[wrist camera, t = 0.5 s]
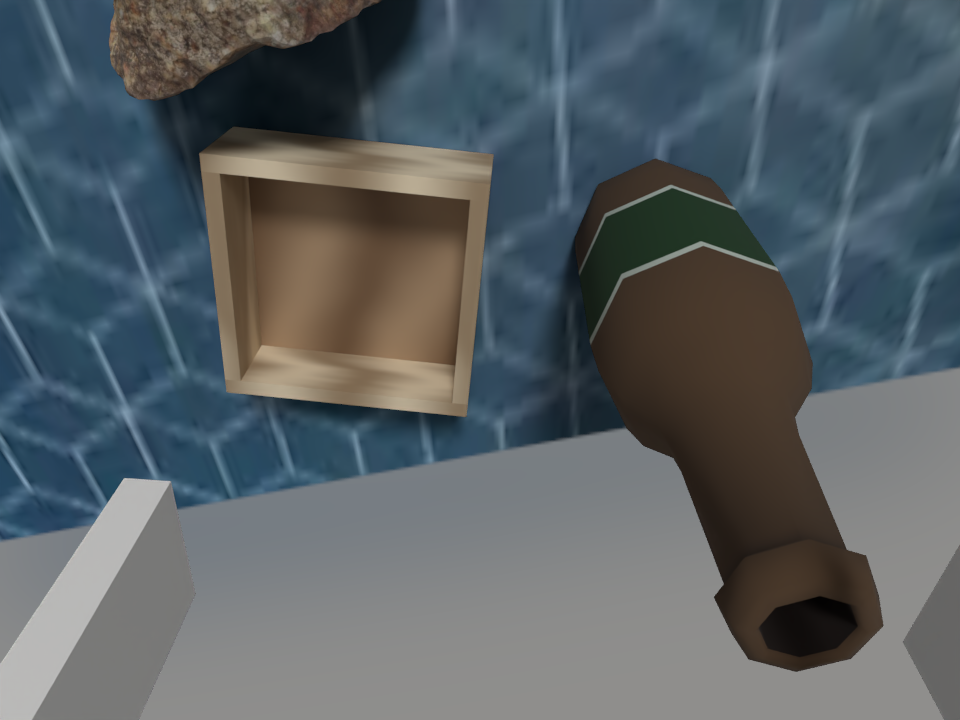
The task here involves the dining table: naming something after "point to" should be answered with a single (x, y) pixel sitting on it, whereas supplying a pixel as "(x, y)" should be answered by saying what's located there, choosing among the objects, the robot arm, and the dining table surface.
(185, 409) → the dining table surface
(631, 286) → the beer bottle
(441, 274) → the caddy
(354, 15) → the rock
